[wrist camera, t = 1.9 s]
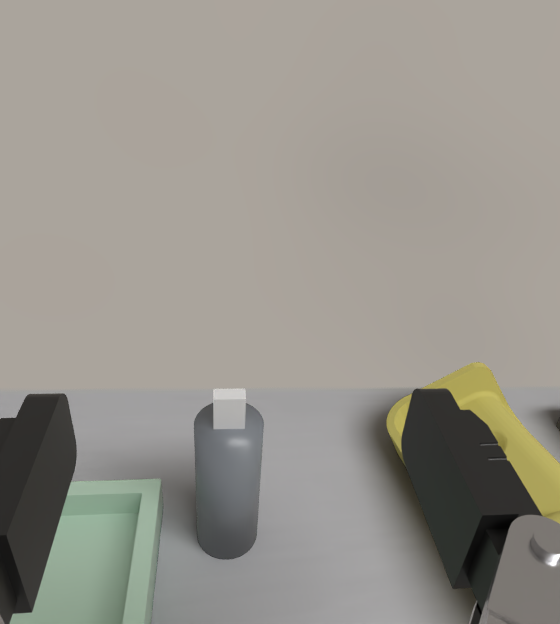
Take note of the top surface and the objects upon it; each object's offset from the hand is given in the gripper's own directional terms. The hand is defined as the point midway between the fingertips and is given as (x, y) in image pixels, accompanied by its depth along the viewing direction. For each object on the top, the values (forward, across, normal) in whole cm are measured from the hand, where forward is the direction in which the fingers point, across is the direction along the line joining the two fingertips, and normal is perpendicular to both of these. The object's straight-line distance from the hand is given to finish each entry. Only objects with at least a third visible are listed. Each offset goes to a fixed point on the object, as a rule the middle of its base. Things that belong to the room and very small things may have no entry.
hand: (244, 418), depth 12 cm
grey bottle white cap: (+11, 0, +20) cm, 23 cm away
